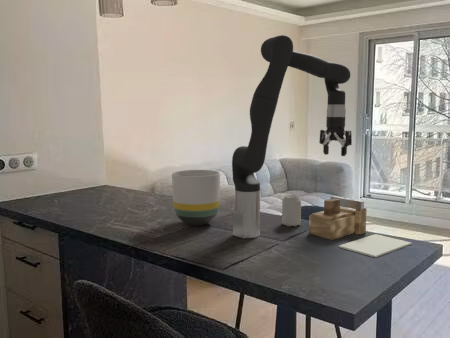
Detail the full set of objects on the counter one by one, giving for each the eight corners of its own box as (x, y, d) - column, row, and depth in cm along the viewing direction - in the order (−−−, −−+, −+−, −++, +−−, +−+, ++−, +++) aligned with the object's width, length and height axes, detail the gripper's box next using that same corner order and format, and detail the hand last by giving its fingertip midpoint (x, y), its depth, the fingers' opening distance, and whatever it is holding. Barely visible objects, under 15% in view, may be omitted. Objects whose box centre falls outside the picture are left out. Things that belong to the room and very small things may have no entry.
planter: (229, 223, 181) (229, 172, 178) (195, 233, 167) (194, 177, 164) (197, 216, 194) (196, 168, 191) (163, 224, 180) (162, 173, 177)
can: (300, 227, 174) (300, 197, 172) (281, 226, 175) (281, 197, 174) (300, 222, 181) (301, 194, 180) (282, 222, 183) (283, 193, 181)
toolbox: (336, 241, 155) (337, 215, 154) (304, 232, 166) (305, 208, 165) (366, 232, 166) (367, 208, 165) (334, 224, 177) (334, 202, 176)
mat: (375, 257, 137) (375, 255, 137) (338, 247, 148) (338, 245, 148) (411, 244, 151) (411, 242, 151) (375, 235, 162) (375, 234, 162)
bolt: (360, 210, 163) (360, 201, 163) (330, 204, 174) (330, 196, 173) (363, 209, 164) (364, 201, 164) (333, 203, 175) (333, 195, 175)
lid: (330, 222, 156) (330, 204, 155) (311, 218, 163) (311, 200, 162) (359, 215, 167) (360, 197, 167) (340, 211, 174) (341, 194, 173)
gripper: (316, 115, 182) (315, 154, 184) (345, 116, 171) (344, 157, 173) (327, 115, 187) (326, 153, 189) (356, 115, 176) (354, 155, 178)
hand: (334, 155), depth 181 cm, fingers open, 8 cm apart
